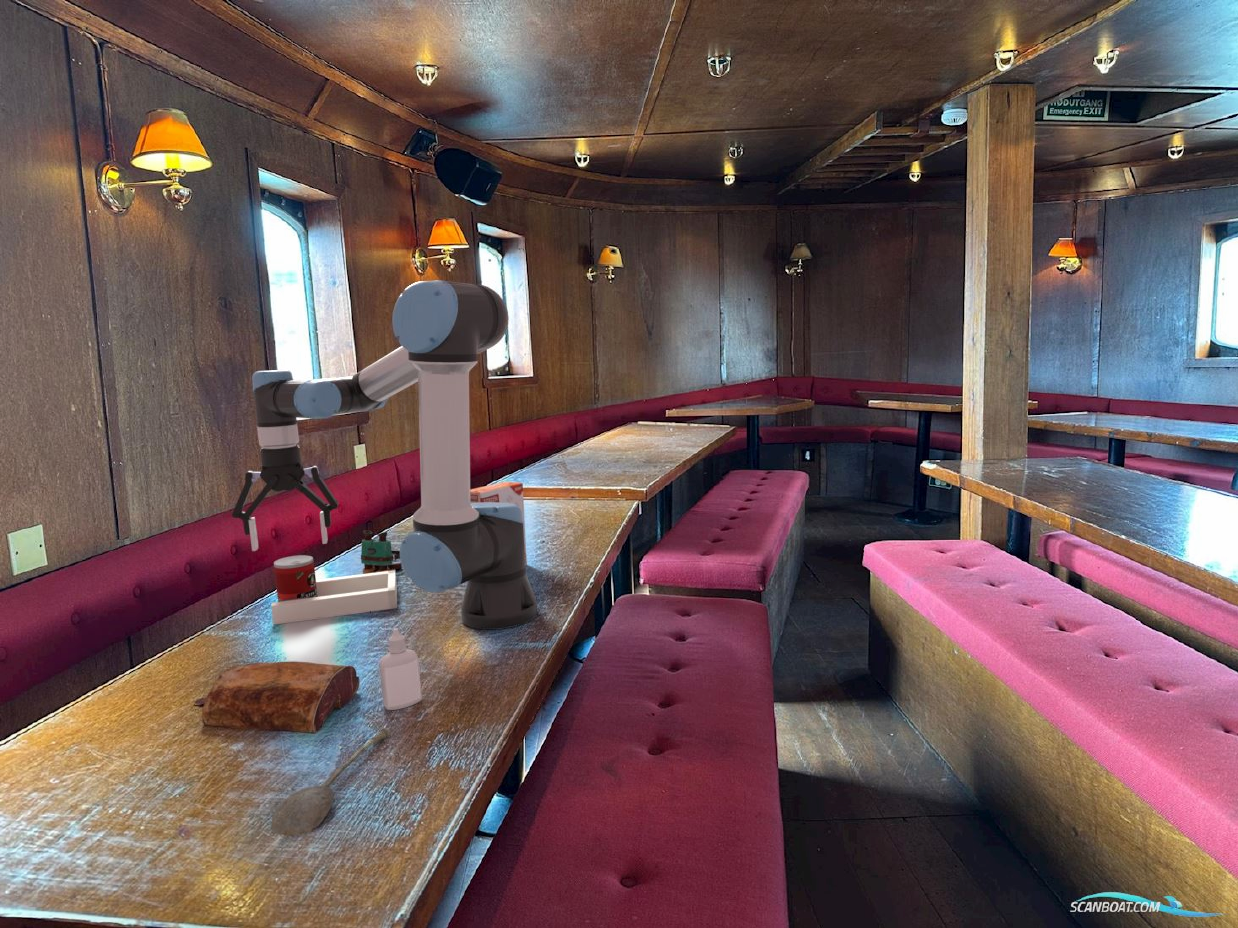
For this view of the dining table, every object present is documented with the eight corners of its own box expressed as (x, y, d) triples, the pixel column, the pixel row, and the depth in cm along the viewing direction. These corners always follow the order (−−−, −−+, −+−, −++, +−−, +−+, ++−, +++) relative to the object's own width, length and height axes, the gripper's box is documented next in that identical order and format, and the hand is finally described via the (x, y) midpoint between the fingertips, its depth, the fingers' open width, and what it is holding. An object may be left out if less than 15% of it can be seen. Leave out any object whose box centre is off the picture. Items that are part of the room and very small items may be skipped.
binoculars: (409, 527, 187) (383, 533, 177) (410, 569, 187) (384, 577, 178) (381, 525, 190) (353, 531, 181) (382, 566, 191) (354, 574, 181)
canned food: (305, 617, 154) (299, 565, 152) (271, 615, 155) (264, 565, 154) (326, 604, 161) (321, 555, 159) (293, 603, 163) (288, 554, 161)
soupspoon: (259, 841, 84) (309, 850, 83) (255, 815, 84) (307, 824, 82) (366, 735, 105) (408, 741, 104) (364, 713, 105) (406, 719, 103)
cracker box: (487, 580, 172) (480, 492, 169) (469, 576, 176) (462, 490, 173) (529, 564, 183) (523, 481, 180) (511, 561, 187) (506, 480, 184)
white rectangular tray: (396, 607, 157) (395, 589, 156) (273, 624, 150) (270, 605, 149) (396, 586, 171) (395, 570, 170) (284, 601, 164) (282, 583, 164)
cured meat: (236, 675, 127) (230, 638, 126) (373, 678, 123) (369, 640, 122) (157, 732, 109) (150, 689, 108) (315, 738, 106) (309, 693, 105)
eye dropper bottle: (418, 709, 112) (411, 633, 110) (380, 711, 111) (373, 635, 109) (424, 695, 116) (417, 622, 114) (387, 698, 116) (380, 624, 114)
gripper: (345, 439, 160) (354, 535, 163) (216, 447, 153) (229, 547, 156) (342, 443, 153) (352, 543, 156) (207, 452, 146) (221, 557, 149)
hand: (290, 545), depth 156 cm, fingers open, 13 cm apart
